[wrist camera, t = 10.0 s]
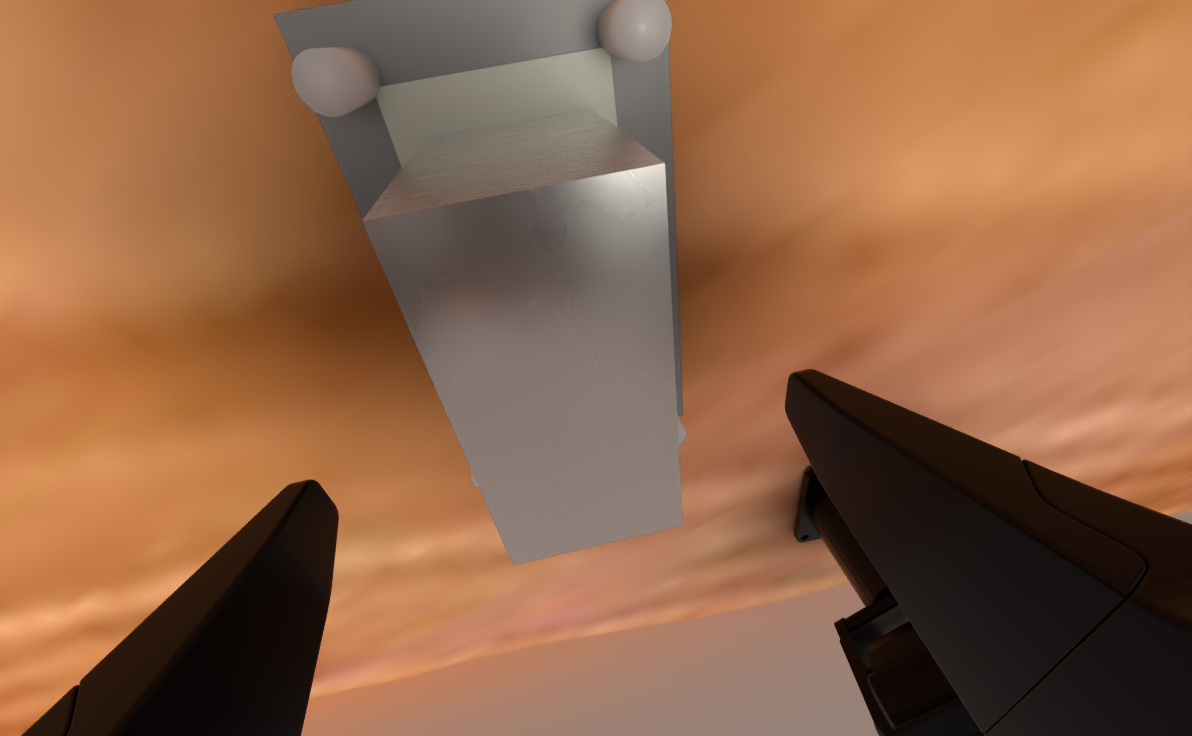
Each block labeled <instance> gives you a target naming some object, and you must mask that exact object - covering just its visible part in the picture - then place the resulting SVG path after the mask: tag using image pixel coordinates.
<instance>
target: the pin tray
mask: <svg viewBox="0 0 1192 736" xmlns="http://www.w3.org/2000/svg"><path fill="white" fill-rule="evenodd" d="M273 15H274V17H275V20H276V22H277V24H278V27H279V29H280V31H281V33H282V36H283V38H284V40H285V43H286V45H287V47H288V49H289V52H290V54H291V56H292V58H293V64H292V69H291V77H292V82H293V86H294V88H295V90H296V92H297V94H298V96H299V97H300V99H301V100H302V101H303V102H304V103H305V104H306V105H307V106H308V107H309V108H310V109H312V110H313V111H315V112H316V113H317V116H318V118H319V120H320V122H321V125H322V127H323V129H324V132H325V134H326V136H327V138H328V141H329V143H330V145H331V148H332V150H333V152H334V154H335V157H336V159H337V161H338V164H339V166H340V168H341V170H342V173H343V175H344V177H345V180H346V182H347V184H348V186H349V189H350V191H351V193H352V196H353V198H354V200H355V202H356V205H357V207H358V209H359V212H360V214H361V216H362V218H363V219H364V217H365V216H366V215H367V213H368V212H369V211H370V209H371V208H372V207H373V206H374V204H375V203H376V202H377V200H378V199H379V198H380V196H381V195H382V194H383V192H384V191H385V190H386V188H387V187H388V186H389V184H390V183H391V182H392V180H393V179H394V178H395V177H396V175H397V174H398V173H399V171H400V170H401V169H402V167H403V166H404V165H405V163H406V162H407V161H408V159H409V158H410V157H411V155H412V154H413V153H414V151H415V150H416V149H417V148H418V146H419V145H420V144H421V142H422V141H423V140H424V138H427V137H432V136H438V135H443V134H449V133H454V132H460V131H465V130H471V129H476V128H482V127H487V126H493V125H498V124H503V123H509V122H514V121H520V120H525V119H531V118H536V117H542V116H547V115H553V114H558V113H564V112H569V111H575V110H580V109H585V108H593V109H594V110H595V111H597V112H598V113H599V114H601V115H602V116H603V117H605V118H606V119H607V120H609V121H610V122H611V123H613V124H614V125H615V126H616V127H618V128H619V129H620V130H622V131H623V132H624V133H626V134H627V135H628V136H630V137H631V138H632V139H634V140H635V141H636V142H638V143H639V144H640V145H642V146H643V147H644V148H646V149H647V150H648V151H650V152H651V153H652V154H654V155H655V156H656V157H657V158H659V159H660V160H661V161H663V162H664V163H665V174H666V194H667V215H668V235H669V256H670V276H671V296H672V317H673V337H674V358H675V378H676V398H677V419H678V439H679V446H680V445H681V444H682V443H683V442H684V441H685V439H686V431H685V429H684V427H683V425H682V422H681V420H680V418H679V415H683V397H682V372H681V347H680V321H679V296H678V271H677V246H676V220H675V195H674V170H673V145H672V120H671V94H670V69H669V44H668V42H669V39H670V36H671V30H672V19H671V14H670V11H669V8H668V6H667V0H355V1H349V2H343V3H337V4H331V5H325V6H319V7H313V8H307V9H301V10H295V11H289V12H283V13H277V14H273ZM471 482H472V484H473V485H474V486H475V487H477V488H479V487H478V485H477V482H476V480H475V478H474V475H473V473H472V472H471Z"/></svg>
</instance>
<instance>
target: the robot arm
mask: <svg viewBox="0 0 1192 736" xmlns="http://www.w3.org/2000/svg"><path fill="white" fill-rule="evenodd" d="M785 411H786V415H787V417H788V419H789V421H790V423H791V425H792V427H793V429H794V431H795V433H796V435H797V437H798V439H799V441H800V443H801V445H802V447H803V449H804V451H805V453H806V455H807V457H808V459H809V461H810V463H811V465H812V467H813V468H811V469H810V470H808V471H807V472H806V474H805V477H804V482H803V488H802V493H801V499H800V504H799V509H798V515H797V520H796V526H795V531H794V536H795V538H796V539H797V541H798V542H801V543H802V542H807V541H811V540H815V539H819V538H822V539H823V541H824V543H825V544H826V546H827V547H828V549H829V550H830V552H831V553H832V555H833V557H834V558H835V560H836V561H837V563H838V564H839V566H840V567H841V569H842V571H843V572H844V574H845V575H846V577H847V578H848V580H849V581H850V583H851V585H852V586H853V588H854V589H855V591H856V592H857V594H858V595H859V597H860V599H861V600H862V602H863V603H864V605H865V606H866V607H865V608H863V609H861V610H860V611H858V612H856V613H854V614H853V615H851V616H849V617H848V618H846V619H845V618H842V619H840V620H838V621H837V622H835V623H834V625H835V628H836V630H837V632H838V635H839V637H840V643H841V646H842V648H843V651H844V653H845V655H846V657H847V660H848V662H849V665H850V667H851V669H852V672H853V674H854V676H855V679H856V681H857V683H858V686H859V688H860V690H861V693H862V695H863V697H864V700H865V702H866V705H867V707H868V709H869V712H870V714H871V716H872V719H873V721H874V725H875V728H876V730H877V732H878V734H879V736H1192V524H1189V523H1187V522H1183V521H1181V520H1178V519H1176V518H1173V517H1170V516H1168V515H1165V514H1162V513H1159V512H1157V511H1154V510H1151V509H1148V508H1146V507H1143V506H1141V505H1138V504H1135V503H1133V502H1130V501H1127V500H1125V499H1122V498H1119V497H1117V496H1114V495H1111V494H1109V493H1106V492H1104V491H1101V490H1098V489H1096V488H1093V487H1091V486H1088V485H1086V484H1084V483H1081V482H1079V481H1076V480H1074V479H1071V478H1069V477H1066V476H1064V475H1062V474H1059V473H1057V472H1054V471H1052V470H1050V469H1047V468H1045V467H1042V466H1040V465H1038V464H1035V463H1033V462H1031V461H1028V460H1021V458H1020V457H1019V456H1016V455H1014V454H1012V453H1009V452H1007V451H1005V450H1002V449H1000V448H998V447H995V446H993V445H991V444H988V443H986V442H983V441H981V440H979V439H976V438H974V437H972V436H969V435H967V434H965V433H962V432H960V431H958V430H955V429H953V428H951V427H948V426H946V425H944V424H941V423H939V422H936V421H934V420H932V419H929V418H927V417H925V416H922V415H920V414H918V413H915V412H913V411H911V410H908V409H906V408H904V407H901V406H899V405H897V404H894V403H892V402H889V401H887V400H885V399H882V398H880V397H878V396H875V395H873V394H871V393H868V392H866V391H864V390H861V389H859V388H857V387H854V386H852V385H850V384H847V383H845V382H843V381H840V380H838V379H835V378H833V377H831V376H828V375H826V374H824V373H821V372H819V371H817V370H814V369H807V370H802V371H798V372H794V373H792V374H791V375H790V376H789V379H788V385H787V393H786V400H785ZM338 521H339V515H338V510H337V508H336V506H335V504H334V503H333V501H332V500H331V499H330V497H329V496H328V495H327V493H326V492H325V491H324V489H323V488H322V487H321V485H320V484H319V483H318V482H317V481H315V480H305V481H300V482H296V483H292V484H289V485H288V486H286V487H285V488H284V489H283V490H282V491H281V492H280V493H279V494H278V495H277V496H276V497H275V498H274V499H272V500H271V501H270V502H269V503H268V504H267V505H266V506H265V507H264V508H263V509H262V510H261V511H260V512H259V513H258V514H257V515H256V516H254V517H253V518H252V519H251V520H250V521H249V522H248V523H247V524H246V525H245V526H244V527H243V528H242V529H241V530H240V531H239V532H237V533H236V534H235V535H234V536H233V537H232V538H231V539H230V540H229V541H228V542H227V543H226V544H225V545H224V546H223V547H222V548H220V549H219V550H218V551H217V552H216V553H215V554H214V555H213V556H212V557H211V558H210V559H209V560H208V561H207V562H206V563H205V564H203V565H202V566H201V567H200V568H199V569H198V570H197V571H196V572H195V573H194V574H193V575H192V576H191V577H190V578H189V579H188V580H186V581H185V582H184V583H183V584H182V585H181V586H180V587H179V588H178V589H177V590H176V591H175V592H174V593H173V594H172V595H171V596H169V597H168V598H167V599H166V600H165V601H164V602H163V603H162V604H161V605H160V606H159V607H158V608H157V609H156V610H155V611H154V612H152V613H151V614H150V615H149V616H148V617H147V618H146V619H145V620H144V621H143V622H142V623H141V624H140V625H139V626H138V627H137V628H135V629H134V630H133V631H132V632H131V633H130V634H129V635H128V636H127V637H126V638H125V639H124V640H123V641H122V642H121V643H120V644H118V645H117V646H116V647H115V648H114V649H113V650H112V651H111V652H110V653H109V654H108V655H107V656H106V657H105V658H104V659H103V660H101V661H100V662H99V663H98V664H97V665H96V666H95V667H94V668H93V669H92V670H91V671H90V672H89V673H88V674H87V675H86V676H84V677H83V678H82V679H81V681H80V684H79V685H76V686H74V687H73V688H72V689H70V690H69V691H68V692H67V693H66V694H65V695H64V696H63V697H62V698H61V699H60V700H59V701H58V702H57V703H56V704H55V705H54V706H53V707H52V708H50V709H49V710H48V711H47V712H46V713H45V714H44V715H43V716H42V717H41V718H40V719H39V720H38V721H36V722H35V723H34V724H33V725H32V726H31V727H30V728H29V729H28V730H27V731H26V732H25V733H23V734H22V735H21V736H301V733H302V728H303V723H304V719H305V714H306V710H307V705H308V700H309V696H310V691H311V687H312V682H313V677H314V673H315V668H316V663H317V659H318V654H319V650H320V645H321V640H322V636H323V631H324V626H325V622H326V617H327V612H328V607H329V602H330V596H331V589H332V580H333V570H334V561H335V551H336V541H337V531H338Z"/></svg>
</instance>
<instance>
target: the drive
mask: <svg viewBox="0 0 1192 736" xmlns="http://www.w3.org/2000/svg"><path fill="white" fill-rule="evenodd" d="M362 223H363V225H364V228H365V230H366V232H367V234H368V237H369V239H370V241H371V243H372V246H373V248H374V250H375V253H376V255H377V257H378V259H379V262H380V264H381V266H382V268H383V271H384V273H385V275H386V278H387V280H388V282H389V284H390V287H391V289H392V291H393V293H394V296H395V298H396V300H397V303H398V305H399V307H400V309H401V312H402V314H403V316H404V319H405V321H406V323H407V325H408V328H409V330H410V332H411V334H412V337H413V339H414V341H415V344H416V346H417V348H418V350H419V353H420V355H421V357H422V359H423V362H424V364H425V366H426V369H427V371H428V373H429V375H430V378H431V380H432V382H433V384H434V387H435V389H436V391H437V394H438V396H439V398H440V400H441V403H442V405H443V407H444V409H445V412H446V414H447V416H448V419H449V421H450V423H451V425H452V428H453V430H454V432H455V434H456V437H457V439H458V441H459V444H460V446H461V448H462V450H463V453H464V455H465V457H466V460H467V462H468V464H469V466H470V469H471V471H472V473H473V475H474V478H475V480H476V482H477V485H478V487H479V489H480V491H481V494H482V496H483V498H484V500H485V503H486V505H487V507H488V510H489V512H490V514H491V516H492V519H493V521H494V523H495V525H496V528H497V530H498V532H499V535H500V537H501V539H502V541H503V544H504V546H505V548H506V550H507V553H508V555H509V557H510V560H511V562H512V564H513V565H517V564H521V563H526V562H530V561H534V560H539V559H543V558H547V557H551V556H556V555H560V554H564V553H568V552H573V551H577V550H581V549H586V548H590V547H594V546H598V545H603V544H607V543H611V542H615V541H620V540H624V539H628V538H633V537H637V536H641V535H645V534H650V533H654V532H658V531H662V530H667V529H671V528H675V527H680V526H683V521H682V500H681V480H680V460H679V439H678V419H677V398H676V378H675V358H674V337H673V317H672V296H671V276H670V256H669V235H668V215H667V194H666V174H665V163H664V162H663V161H661V160H660V159H659V158H657V157H656V156H655V155H654V154H652V153H651V152H650V151H648V150H647V149H646V148H644V147H643V146H642V145H640V144H639V143H638V142H636V141H635V140H634V139H632V138H631V137H630V136H628V135H627V134H626V133H624V132H623V131H622V130H620V129H619V128H618V127H616V126H615V125H614V124H613V123H611V122H610V121H609V120H607V119H606V118H605V117H603V116H602V115H601V114H599V113H598V112H597V111H595V110H594V109H593V108H585V109H580V110H575V111H569V112H564V113H558V114H553V115H547V116H542V117H536V118H531V119H525V120H520V121H514V122H509V123H503V124H498V125H493V126H487V127H482V128H476V129H471V130H465V131H460V132H454V133H449V134H443V135H438V136H432V137H427V138H424V140H423V141H422V142H421V144H420V145H419V146H418V148H417V149H416V150H415V151H414V153H413V154H412V155H411V157H410V158H409V159H408V161H407V162H406V163H405V165H404V166H403V167H402V169H401V170H400V171H399V173H398V174H397V175H396V177H395V178H394V179H393V180H392V182H391V183H390V184H389V186H388V187H387V188H386V190H385V191H384V192H383V194H382V195H381V196H380V198H379V199H378V200H377V202H376V203H375V204H374V206H373V207H372V208H371V209H370V211H369V212H368V213H367V215H366V216H365V217H364V219H363V220H362Z"/></svg>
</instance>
